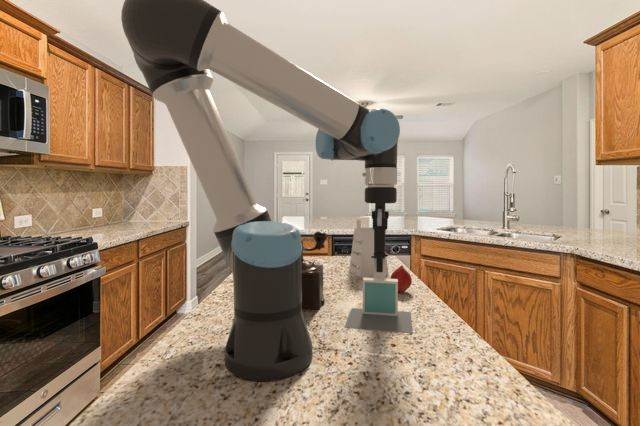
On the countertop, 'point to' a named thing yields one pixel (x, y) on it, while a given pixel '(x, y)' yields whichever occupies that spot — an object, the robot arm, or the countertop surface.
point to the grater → (363, 251)
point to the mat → (380, 321)
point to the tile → (380, 296)
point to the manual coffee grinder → (313, 277)
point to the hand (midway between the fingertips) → (379, 284)
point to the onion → (402, 279)
